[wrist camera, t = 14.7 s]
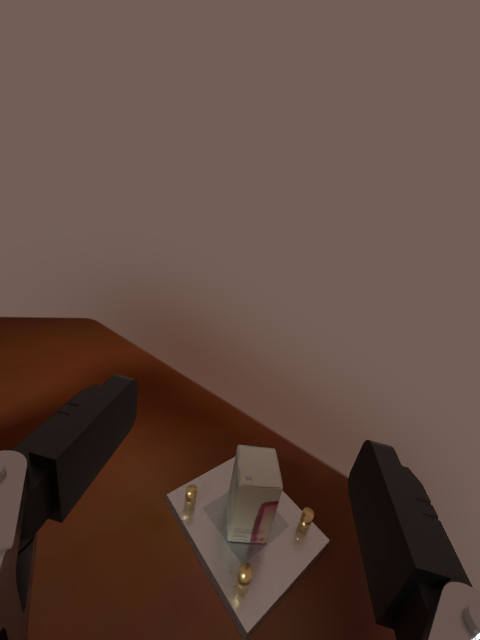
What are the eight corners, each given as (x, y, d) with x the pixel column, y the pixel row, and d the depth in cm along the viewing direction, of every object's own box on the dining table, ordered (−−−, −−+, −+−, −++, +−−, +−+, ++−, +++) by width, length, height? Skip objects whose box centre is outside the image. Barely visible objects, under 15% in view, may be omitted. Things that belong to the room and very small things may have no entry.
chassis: (166, 501, 32) (168, 478, 31) (243, 457, 40) (248, 437, 39) (244, 641, 23) (252, 615, 21) (326, 547, 31) (336, 524, 29)
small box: (267, 545, 29) (284, 489, 26) (226, 542, 28) (238, 485, 25) (262, 498, 33) (276, 447, 31) (226, 495, 33) (237, 443, 30)
